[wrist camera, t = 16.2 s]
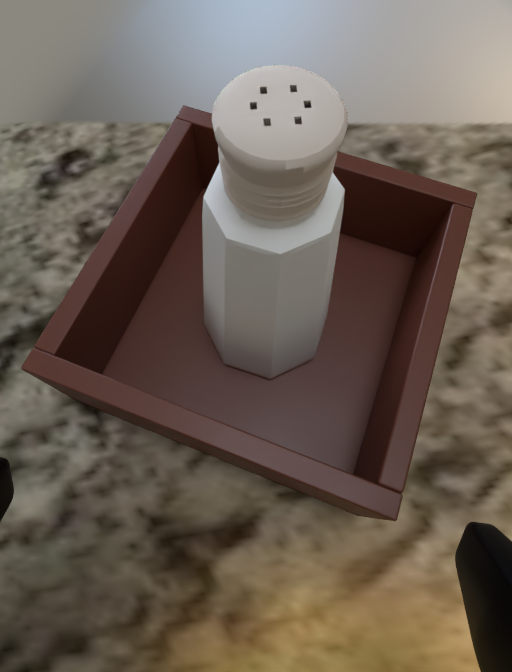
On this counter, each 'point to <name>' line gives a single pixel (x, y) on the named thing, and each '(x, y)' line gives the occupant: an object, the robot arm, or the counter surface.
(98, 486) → the counter surface
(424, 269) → the bin
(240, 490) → the counter surface
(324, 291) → the salt shaker
